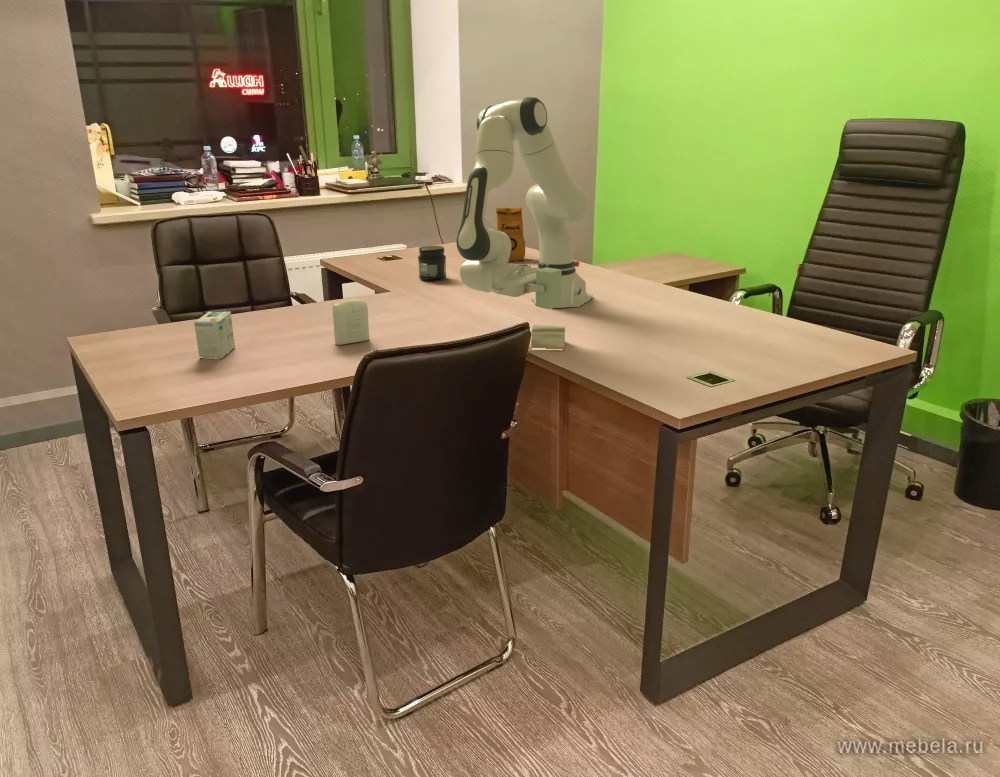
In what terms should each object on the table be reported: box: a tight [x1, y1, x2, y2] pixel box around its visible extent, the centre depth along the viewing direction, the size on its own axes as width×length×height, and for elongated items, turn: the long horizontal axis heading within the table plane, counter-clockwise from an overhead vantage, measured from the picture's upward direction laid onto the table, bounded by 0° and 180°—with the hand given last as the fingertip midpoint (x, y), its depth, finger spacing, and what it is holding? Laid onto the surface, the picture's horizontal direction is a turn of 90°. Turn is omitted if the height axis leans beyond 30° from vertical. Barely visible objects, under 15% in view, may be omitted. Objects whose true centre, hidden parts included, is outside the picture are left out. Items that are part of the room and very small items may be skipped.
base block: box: [530, 324, 566, 350], centre depth 228 cm, size 9×9×5 cm
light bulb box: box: [193, 310, 236, 358], centre depth 224 cm, size 11×7×11 cm, turn 178°
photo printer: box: [332, 298, 370, 346], centre depth 233 cm, size 10×4×12 cm, turn 123°
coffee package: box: [495, 207, 526, 261], centre depth 340 cm, size 10×12×22 cm
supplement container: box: [417, 245, 447, 282], centre depth 309 cm, size 10×10×12 cm
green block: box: [535, 267, 562, 310], centre depth 223 cm, size 5×5×10 cm
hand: (551, 286), depth 223 cm, fingers closed on green block, 5 cm apart
